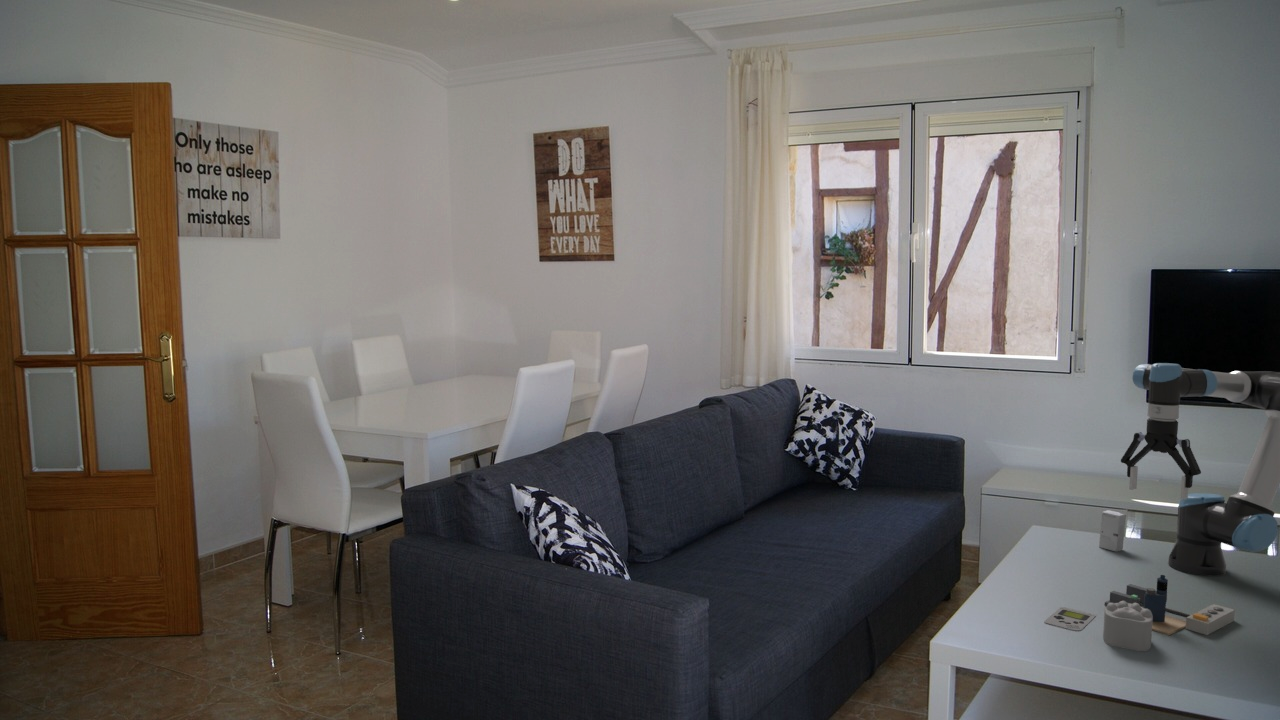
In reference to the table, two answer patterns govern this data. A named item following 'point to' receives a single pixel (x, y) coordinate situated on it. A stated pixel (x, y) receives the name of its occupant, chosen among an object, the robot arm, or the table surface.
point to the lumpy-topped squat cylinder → (1128, 626)
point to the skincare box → (1112, 530)
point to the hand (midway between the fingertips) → (1157, 493)
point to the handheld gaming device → (1070, 619)
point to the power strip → (1210, 619)
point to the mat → (1169, 625)
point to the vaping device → (1157, 599)
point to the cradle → (1134, 597)
